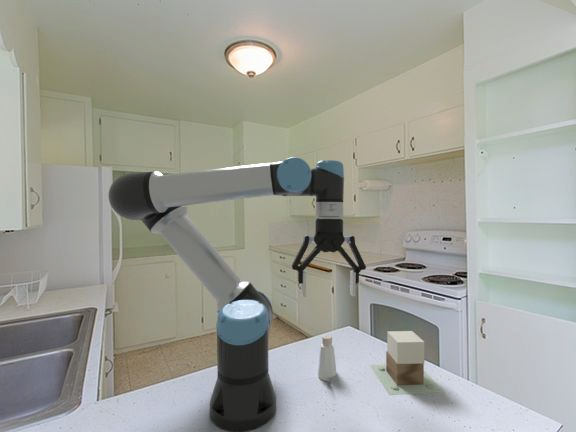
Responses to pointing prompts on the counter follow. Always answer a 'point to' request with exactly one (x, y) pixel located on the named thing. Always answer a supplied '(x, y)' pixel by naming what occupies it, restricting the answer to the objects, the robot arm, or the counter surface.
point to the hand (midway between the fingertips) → (328, 295)
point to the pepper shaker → (327, 359)
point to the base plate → (393, 389)
